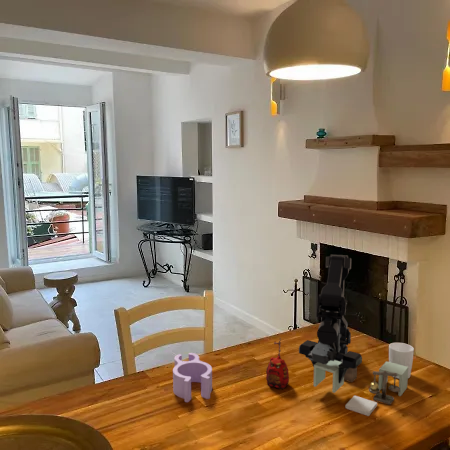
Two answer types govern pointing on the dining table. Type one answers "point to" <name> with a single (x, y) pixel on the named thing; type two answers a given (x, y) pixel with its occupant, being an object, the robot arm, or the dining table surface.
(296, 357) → the dining table surface
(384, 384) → the bronze balance
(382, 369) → the green cover right
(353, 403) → the grey ceramic tile
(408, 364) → the white cup
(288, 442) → the dining table surface
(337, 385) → the green cover left
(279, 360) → the red clay folk toy
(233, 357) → the dining table surface
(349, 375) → the walnut block
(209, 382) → the clip
